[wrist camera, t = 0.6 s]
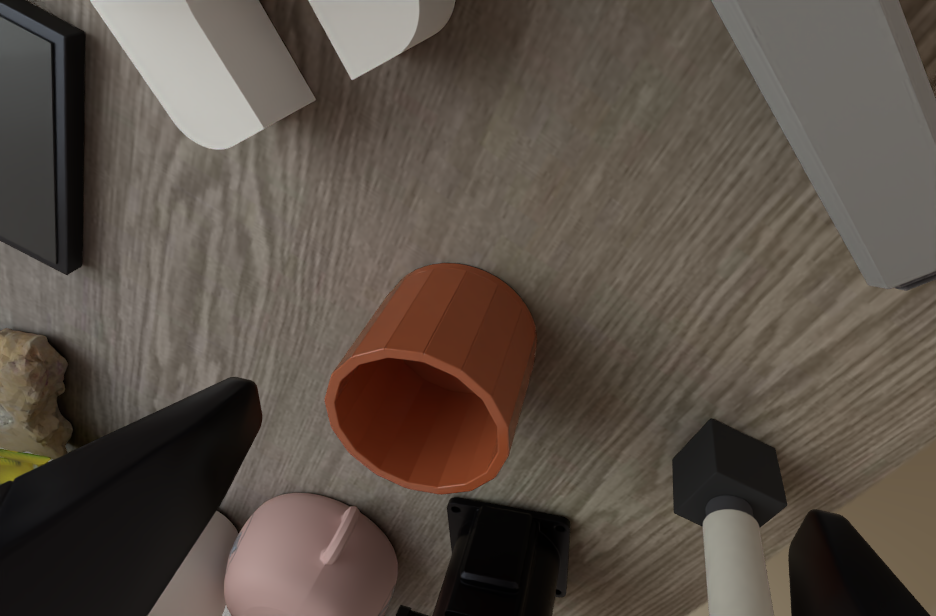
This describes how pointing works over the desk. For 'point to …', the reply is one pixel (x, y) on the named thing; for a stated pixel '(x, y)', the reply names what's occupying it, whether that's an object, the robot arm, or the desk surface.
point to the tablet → (41, 135)
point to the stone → (31, 395)
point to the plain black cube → (726, 473)
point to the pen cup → (436, 380)
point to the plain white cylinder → (735, 560)
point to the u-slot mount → (252, 55)
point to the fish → (18, 464)
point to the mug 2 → (309, 561)
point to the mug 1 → (200, 574)
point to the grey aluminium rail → (852, 121)
